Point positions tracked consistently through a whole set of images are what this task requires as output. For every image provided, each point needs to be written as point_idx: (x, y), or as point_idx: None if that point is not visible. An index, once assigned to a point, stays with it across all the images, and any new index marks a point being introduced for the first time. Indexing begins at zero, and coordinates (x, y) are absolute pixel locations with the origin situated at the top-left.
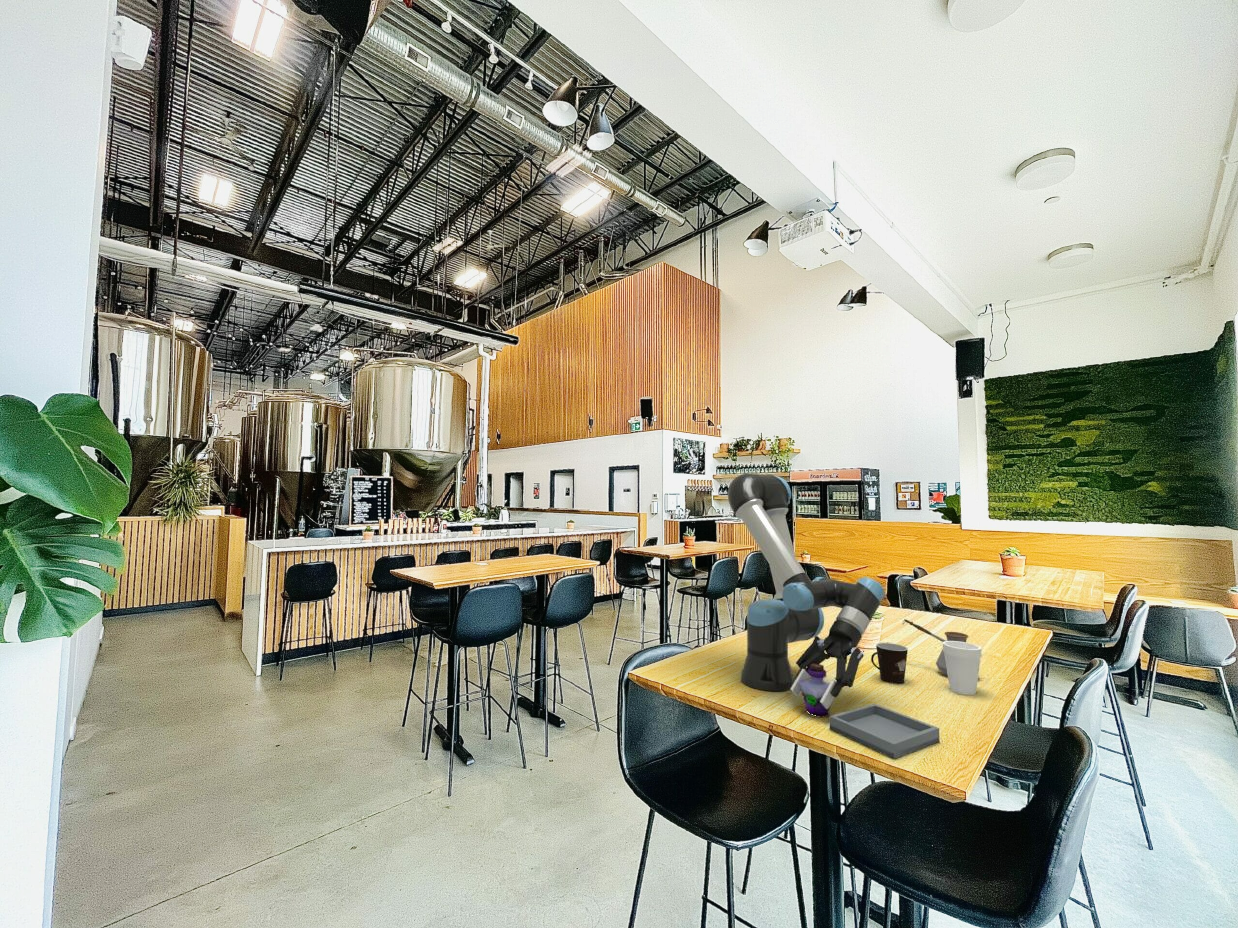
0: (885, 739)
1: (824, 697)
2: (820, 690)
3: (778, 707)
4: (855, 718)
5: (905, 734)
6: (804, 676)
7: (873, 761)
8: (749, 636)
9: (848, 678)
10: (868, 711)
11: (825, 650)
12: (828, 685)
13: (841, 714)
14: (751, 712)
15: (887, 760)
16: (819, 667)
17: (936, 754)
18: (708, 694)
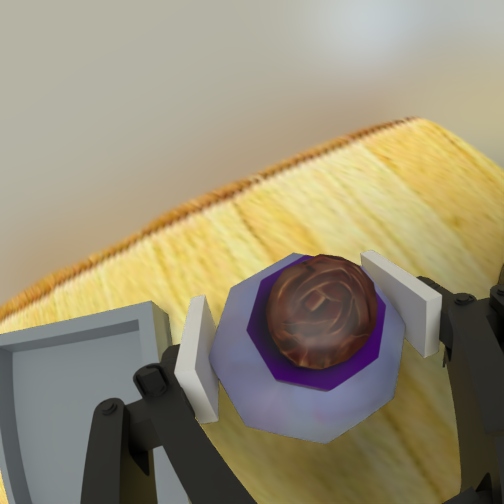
0: (5, 339)
1: (193, 309)
2: (226, 307)
3: (369, 250)
4: None
5: (53, 476)
6: (409, 314)
7: (25, 294)
8: None
9: (93, 418)
10: None
11: (496, 489)
12: (258, 386)
13: (147, 357)
14: (336, 163)
15: (16, 326)
16: (269, 299)
17: None
18: (447, 131)
